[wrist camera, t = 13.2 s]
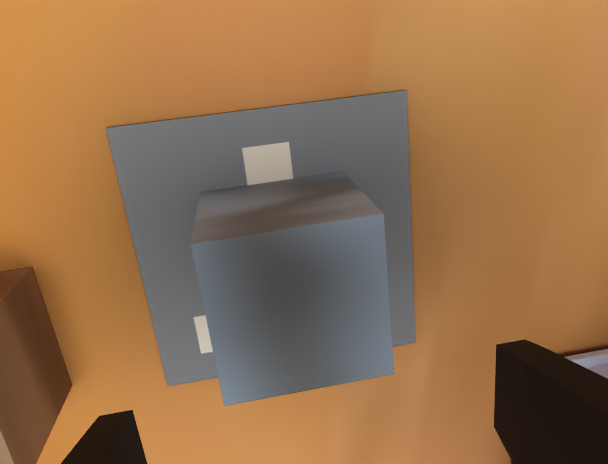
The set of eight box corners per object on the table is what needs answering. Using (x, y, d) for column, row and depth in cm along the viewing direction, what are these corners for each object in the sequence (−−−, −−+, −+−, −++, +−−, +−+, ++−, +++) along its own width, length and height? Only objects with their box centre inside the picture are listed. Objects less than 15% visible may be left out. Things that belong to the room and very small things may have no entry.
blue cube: (342, 171, 18) (383, 213, 13) (354, 297, 20) (393, 373, 15) (199, 192, 17) (190, 244, 13) (224, 319, 19) (224, 406, 15)
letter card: (405, 90, 18) (406, 90, 17) (413, 340, 21) (415, 342, 21) (107, 127, 17) (105, 128, 16) (168, 382, 20) (167, 386, 20)
